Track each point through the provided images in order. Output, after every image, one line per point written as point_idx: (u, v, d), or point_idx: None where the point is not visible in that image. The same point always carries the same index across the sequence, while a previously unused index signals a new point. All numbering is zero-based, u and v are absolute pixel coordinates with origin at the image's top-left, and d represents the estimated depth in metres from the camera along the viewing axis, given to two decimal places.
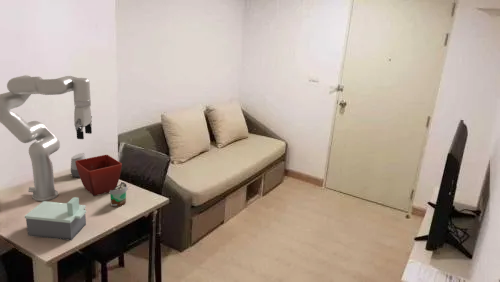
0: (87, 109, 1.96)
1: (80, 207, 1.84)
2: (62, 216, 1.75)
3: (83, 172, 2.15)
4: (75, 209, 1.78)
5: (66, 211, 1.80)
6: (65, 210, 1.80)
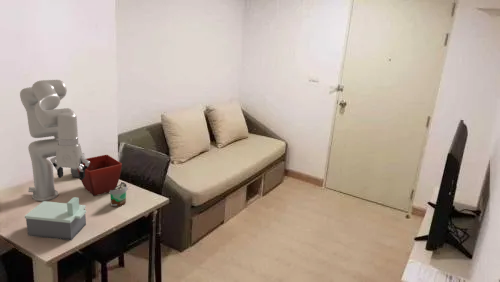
0: None
1: (80, 207, 1.84)
2: (62, 216, 1.75)
3: None
4: (75, 209, 1.78)
5: (66, 211, 1.80)
6: (65, 210, 1.80)
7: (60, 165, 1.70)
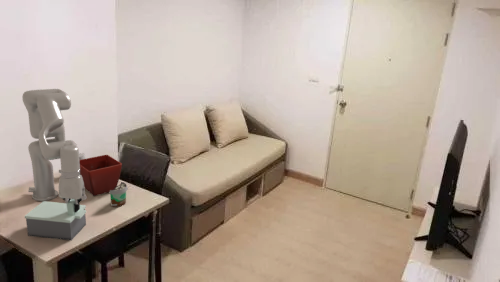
0: None
1: (80, 207, 1.84)
2: (62, 216, 1.75)
3: (83, 172, 2.15)
4: None
5: (66, 211, 1.80)
6: (65, 210, 1.80)
7: (62, 196, 1.74)
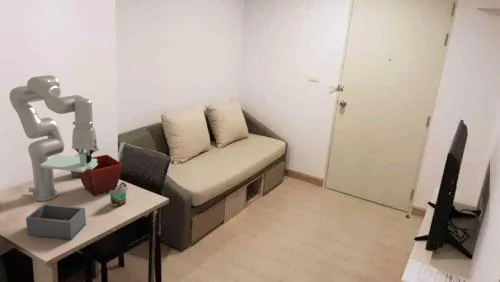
0: None
1: (92, 160, 1.94)
2: (75, 166, 1.85)
3: (83, 172, 2.15)
4: None
5: (78, 163, 1.89)
6: (78, 162, 1.90)
7: (76, 147, 1.84)
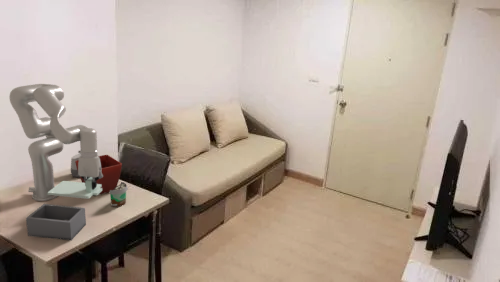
0: None
1: None
2: (81, 193, 1.94)
3: None
4: None
5: (84, 189, 1.98)
6: (83, 188, 1.99)
7: (81, 174, 1.93)
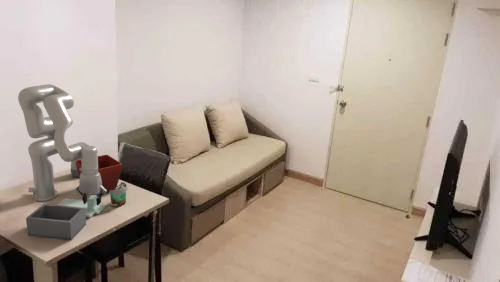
0: None
1: None
2: None
3: None
4: (94, 205, 2.00)
5: (86, 207, 2.01)
6: (85, 206, 2.02)
7: (82, 191, 1.96)
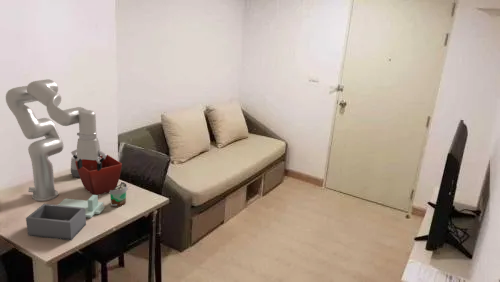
0: None
1: (98, 204, 2.06)
2: None
3: (83, 172, 2.15)
4: (94, 205, 2.00)
5: (86, 207, 2.01)
6: (85, 206, 2.02)
7: (80, 157, 1.90)
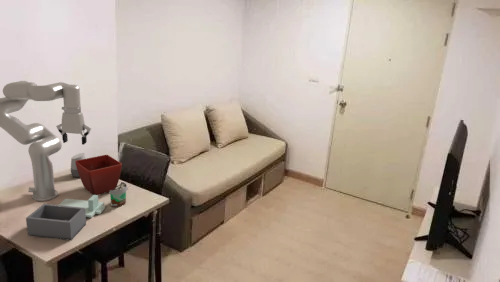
0: None
1: (99, 204, 2.06)
2: None
3: (83, 172, 2.15)
4: (95, 205, 2.00)
5: (87, 207, 2.01)
6: (86, 206, 2.02)
7: (65, 131, 1.95)
